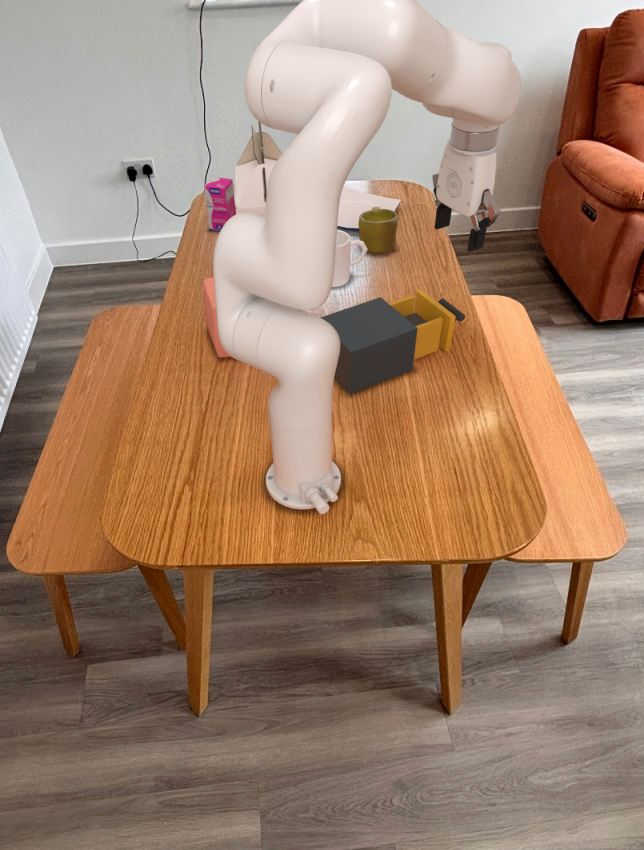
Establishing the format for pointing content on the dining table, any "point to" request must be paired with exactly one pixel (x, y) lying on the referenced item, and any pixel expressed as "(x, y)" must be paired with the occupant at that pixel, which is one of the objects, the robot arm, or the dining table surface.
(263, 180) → the paper bag
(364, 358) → the cabinet
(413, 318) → the block
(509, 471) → the dining table surface
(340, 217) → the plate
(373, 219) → the mug
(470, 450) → the dining table surface
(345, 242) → the mug
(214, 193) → the supplement box
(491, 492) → the dining table surface
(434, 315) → the yellow drawer
